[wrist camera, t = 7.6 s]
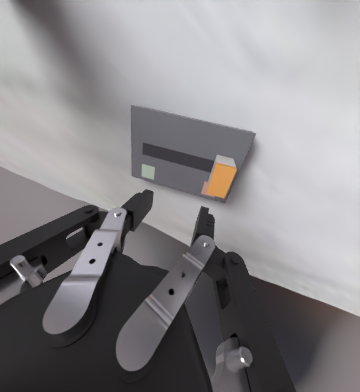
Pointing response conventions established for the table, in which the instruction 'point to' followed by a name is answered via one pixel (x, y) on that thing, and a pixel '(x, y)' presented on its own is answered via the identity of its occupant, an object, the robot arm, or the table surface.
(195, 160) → the switch panel
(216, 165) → the lever
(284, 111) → the table surface
